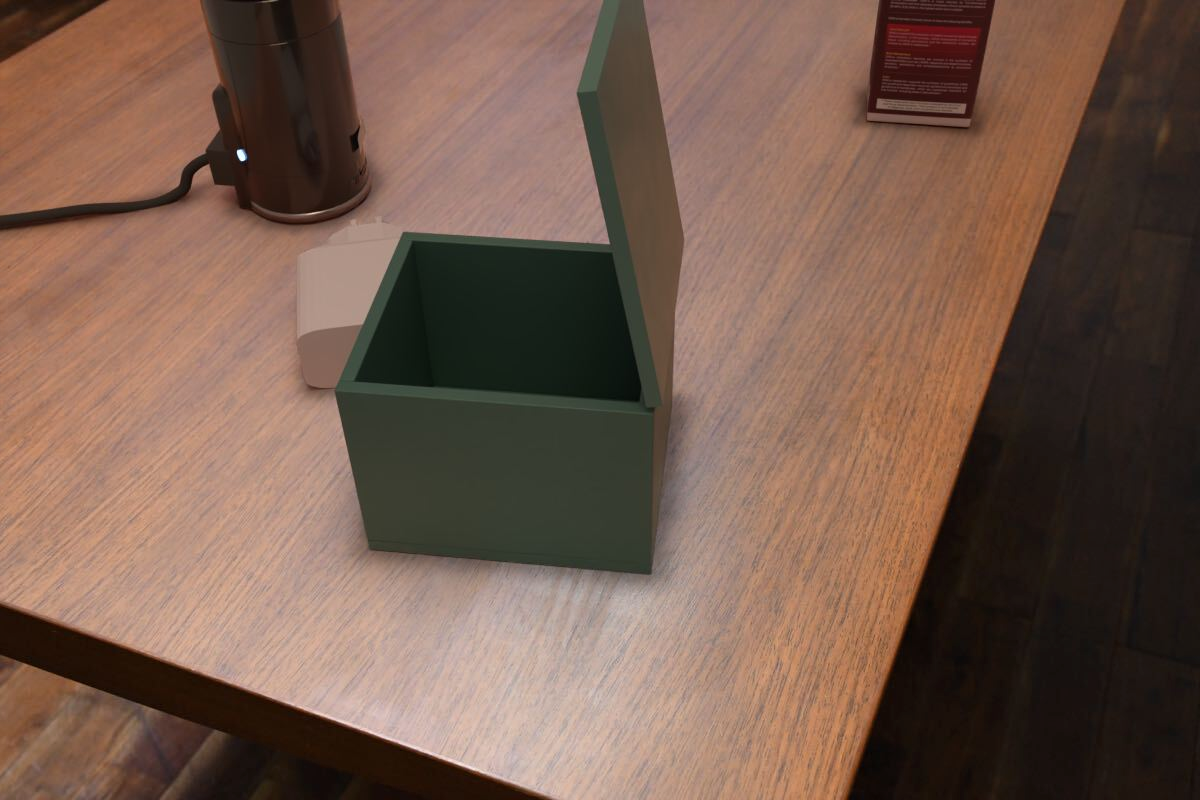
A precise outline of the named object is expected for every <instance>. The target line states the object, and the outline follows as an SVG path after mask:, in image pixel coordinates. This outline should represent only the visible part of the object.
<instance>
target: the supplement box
mask: <svg viewBox="0 0 1200 800" xmlns="http://www.w3.org/2000/svg"><path fill="white" fill-rule="evenodd" d="M995 4H996V0H878V6H877V14H876V21H875V28H874V29H875V30H874V37H873V42H872V43H873V44H872V51H871V58H870V68H869V72H868V73H869V74H868V82H867V89H866V121H867V122H882V123H898V124H914V125H930V126H931V125H932V126H942V127H943V126H944V127H945V126H946V127H958V128H969V127H970V126H971V123H972V118H973V114H974V110H975V105H976V100H977V95H978V90H979V86H980V81H981V75H982V70H983V65H984V60H985V55H986V50H987V45H988V40H989V35H990V30H991V24H992V20H993V15H994V9H995Z"/></svg>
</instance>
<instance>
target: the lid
mask: <svg viewBox="0 0 1200 800" xmlns="http://www.w3.org/2000/svg"><path fill="white" fill-rule="evenodd" d="M651 44H652V43H651V39H650V32H649V27H648V20H647V14H646V10H645V4H644V0H602V4H601V6H600V10H599V14H598V18H597V21H596V24H595V28H594V31H593V34H592V38H591V42H590V45H589V47H588V52H587V56H586V59H585V62H584V66H583V69H582V71H581V72H582V73H581V75H580V80H579V83H578V86H577V89H576V97H577V101H578V106H579V110H580V116H581V120H582V124H583V129H584V134H585V137H586V142H587V147H588V151H589V156H590V160H591V165H592V169H593V173H594V177H595V183H596V186H597V192H598V197H599V201H600V206H601V210H602V215H603V218H604V223H605V227H606V233H607V237H608V241H609V244H610V246H611V251H612V255H613V260H614V264H615V269H616V273H617V278H618V282H619V287H620V291H621V296H622V300H623V305H624V309H625V314H626V318H627V323H628V327H629V332H630V336H631V341H632V345H633V350H634V354H635V359H636V363H637V368H638V372H639V377H640V381H641V386H642V390H643V395H644V399H645V404H646V407H647V408H648V407H662V406H663V400H664V393H665V385H666V378H667V370H668V362H669V355H670V347H671V339H672V332H673V324H674V317H675V318H676V307H677V301H678V300H677V299H678V294H679V286H680V278H681V269H682V261H683V255H684V247H685V234H684V229H683V223H682V218H681V217H682V216H681V211H680V206H679V199H678V194H677V189H676V182H675V177H674V171H673V167H672V166H673V165H672V159H671V154H670V147H669V142H668V136H667V130H666V124H665V119H664V113H663V108H662V102H661V101H662V100H661V97H660V90H659V84H658V79H657V72H656V66H655V61H654V55H653V50H652V49H653V48H652V45H651Z"/></svg>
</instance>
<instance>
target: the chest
mask: <svg viewBox="0 0 1200 800" xmlns="http://www.w3.org/2000/svg"><path fill="white" fill-rule="evenodd" d="M675 326H676V316H675V317H674V324H673V332H672V339H671V347H670V355H669V362H668V370H667V378H666V385H665V393H664V400H663V406H662V407H648V408H647V407H646V404H645V399H644V395H643V390H642V386H641V381H640V377H639V372H638V368H637V363H636V359H635V354H634V350H633V345H632V341H631V336H630V332H629V327H628V323H627V318H626V314H625V309H624V305H623V300H622V296H621V291H620V287H619V282H618V278H617V273H616V269H615V264H614V260H613V255H612V251H611V246H610V243H598V242H597V243H596V242H583V241H581V242H580V241H566V240H565V241H564V240H548V239H547V240H546V239H532V238H531V239H530V238H515V237H513V238H512V237H499V236H497V237H496V236H479V235H465V234H448V233H432V232H416V231H415V232H414V231H407V232H403V233H402V235H401V237H400V240H399V242H398V244H397V247H396V249H395V251H394V254H393V256H392V258H391V261H390V263H389V265H388V268H387V270H386V272H385V274H384V277H383V279H382V281H381V284H380V286H379V288H378V291H377V293H376V295H375V298H374V300H373V302H372V305H371V307H370V309H369V312H368V314H367V316H366V319H365V321H364V323H363V326H362V328H361V330H360V333H359V335H358V337H357V339H356V342H355V344H354V346H353V349H352V351H351V353H350V356H349V358H348V360H347V363H346V365H345V367H344V370H343V372H342V374H341V377H340V379H339V381H338V383H337V386H336V388H334V390H333V391H334V395H335V400H336V404H337V409H338V414H339V418H340V422H341V428H342V432H343V436H344V441H345V445H346V450H347V454H348V458H349V464H350V468H351V473H352V477H353V482H354V486H355V490H356V496H357V499H358V504H359V509H360V513H361V517H362V523H363V526H364V531H365V535H366V540H367V545H368V549H369V550H371V551H373V550H375V551H383V552H384V551H385V552H397V553H405V554H407V553H408V554H419V555H428V556H430V555H431V556H440V557H441V556H442V557H451V558H452V557H453V558H463V559H475V560H486V561H498V562H509V563H520V564H531V565H542V566H553V567H563V568H565V567H566V568H577V569H586V570H597V571H610V572H620V573H621V572H622V573H632V574H633V573H634V574H643V575H651V574H652V571H653V563H654V554H655V548H656V547H655V545H656V538H657V529H658V523H659V522H658V521H659V515H660V514H659V513H660V506H661V498H662V489H663V480H664V473H665V466H666V457H667V449H668V441H669V432H670V424H671V417H672V409H673V390H674V389H673V388H674V386H673V385H674V358H675V357H674V355H675V331H676V330H675V328H676V327H675Z"/></svg>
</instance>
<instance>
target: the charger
mask: <svg viewBox="0 0 1200 800" xmlns="http://www.w3.org/2000/svg"><path fill="white" fill-rule="evenodd" d="M373 219H374V222H372V223H364V224H363V223H362V224H359V222H358V219H356V218H352V219H350V220H349V223H350V224H349V225H347V226H345V227H343V228H342V229H340V230H339V231H337V232H335V233H333V234H332V235H330V236H329V237H328V239H327V240H325V244H322V245H317V246H315V247H313V248H310V249H308V250H306V251H304V252H302V253H300V254H299V255H298V256H297V257H296V261H295V263H296V264H295V265H296V270H295V271H296V273H295V275H296V276H295V277H296V279H295V280H296V281H295V282H296V283H295V285H296V292H295V293H296V294H295V295H296V296H295V297H296V299H295V300H296V302H295V303H296V306H295V307H296V309H295V313H296V315H295V320H296V321H295V323H296V324H295V325H296V326H295V345H296V348H297V352H298V357H299V361H300V365H301V369H302V373H303V378H304V382H305V383H306V384H307V385H308V386H310V387H314V388H318V389H335V388H336V386H337V383H338V381H339V379H340V377H341V374H342V372H343V370H344V367H345V365H346V363H347V360H348V358H349V356H350V353H351V351H352V349H353V346H354V344H355V342H356V339H357V337H358V335H359V333H360V330H361V328H362V326H363V323H364V321H365V319H366V316H367V314H368V312H369V309H370V307H371V305H372V302H373V300H374V298H375V295H376V293H377V291H378V288H379V286H380V284H381V281H382V279H383V277H384V274H385V272H386V270H387V268H388V265H389V263H390V261H391V258H392V256H393V254H394V251H395V249H396V247H397V244H398V242H399V240H400V237H401V235H402V233H403V232H408V231H407V230H406V229H405V228H404V227H401V226H397V225H394V224H390V223H387V222H383V218H382V216H380V215H377V216H374V218H373Z"/></svg>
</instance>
